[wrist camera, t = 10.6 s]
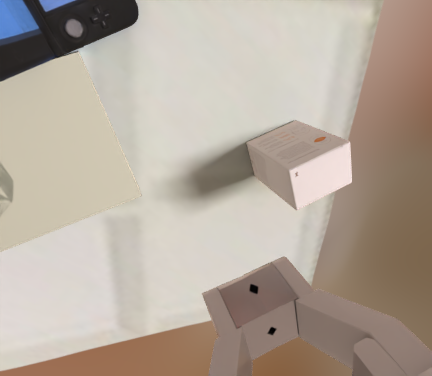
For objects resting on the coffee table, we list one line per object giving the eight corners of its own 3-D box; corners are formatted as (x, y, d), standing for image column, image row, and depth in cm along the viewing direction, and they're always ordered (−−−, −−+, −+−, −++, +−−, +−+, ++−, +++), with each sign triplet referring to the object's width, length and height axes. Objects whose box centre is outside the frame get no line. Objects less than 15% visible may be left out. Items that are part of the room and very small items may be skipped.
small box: (253, 176, 43) (295, 212, 34) (244, 141, 40) (287, 171, 31) (301, 154, 44) (353, 183, 35) (296, 118, 41) (351, 141, 33)
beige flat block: (-154, 119, 26) (-176, 126, 24) (78, 51, 29) (77, 52, 27) (-32, 253, 34) (-40, 267, 32) (139, 187, 38) (141, 196, 36)
